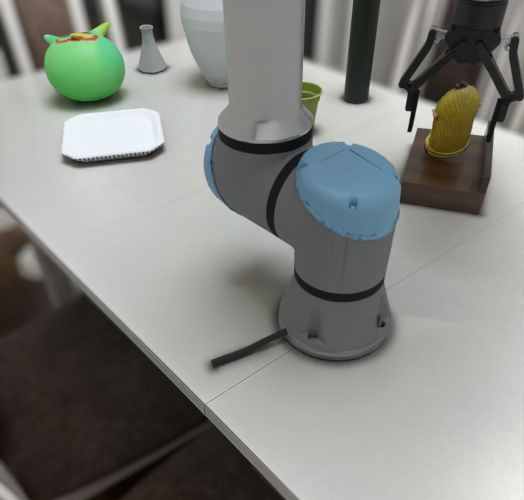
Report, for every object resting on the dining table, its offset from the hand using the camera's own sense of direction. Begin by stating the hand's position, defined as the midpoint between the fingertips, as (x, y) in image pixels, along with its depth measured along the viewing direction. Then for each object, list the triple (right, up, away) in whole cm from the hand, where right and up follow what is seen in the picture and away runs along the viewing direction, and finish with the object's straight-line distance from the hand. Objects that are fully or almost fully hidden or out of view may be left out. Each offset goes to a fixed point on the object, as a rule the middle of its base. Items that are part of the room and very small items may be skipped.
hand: (448, 134), depth 94 cm
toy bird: (-75, +23, +34) cm, 85 cm away
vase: (-43, +29, +39) cm, 65 cm away
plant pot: (-25, +9, +20) cm, 34 cm away
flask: (-63, +36, +47) cm, 86 cm away
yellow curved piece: (0, -3, +3) cm, 5 cm away
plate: (-65, +6, +18) cm, 68 cm away
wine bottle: (-11, +21, +31) cm, 40 cm away
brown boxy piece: (+1, -6, +6) cm, 8 cm away
